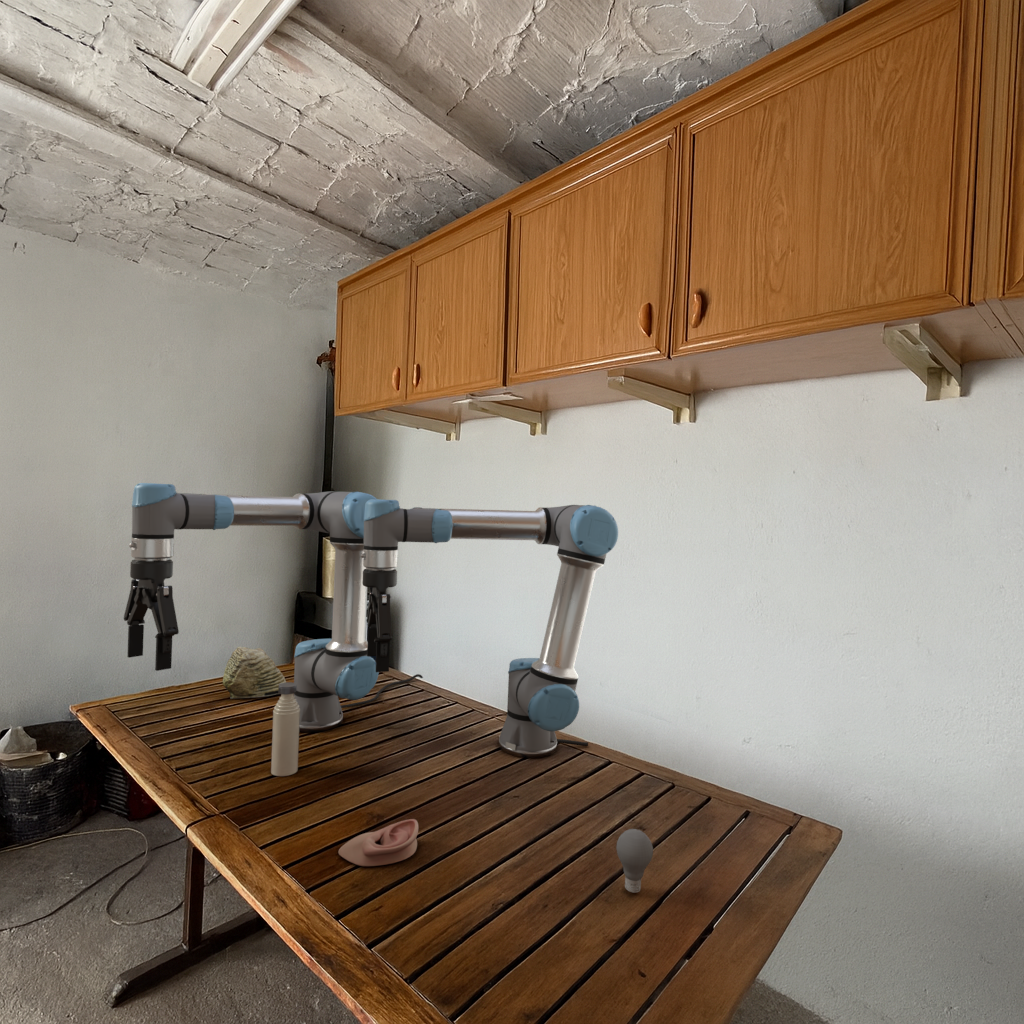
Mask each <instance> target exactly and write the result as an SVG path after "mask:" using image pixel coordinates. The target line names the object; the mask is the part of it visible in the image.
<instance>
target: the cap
mask: <svg viewBox="0 0 1024 1024" xmlns="http://www.w3.org/2000/svg"><path fill="white" fill-rule="evenodd" d="M296 690H297V686H296V683H294V681H293V682H291V681H286V682H285V683H281V684H279V688H278V692H279V693H280V694H279V695H281V694H293V695H294V693H295V692H296Z"/></svg>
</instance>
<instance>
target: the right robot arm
mask: <svg viewBox="0 0 1024 1024" xmlns="http://www.w3.org/2000/svg"><path fill="white" fill-rule="evenodd" d="M618 539H619V526H618V524H617V521H616V519H615V518H614V516H613V514H612V513H611V512H610V511H608V510H607V509H605V508H604V507H601V506H597V505H591V504H569V505H561V506H551V507H549V506H548V507H541V506H540V507H537V508H536V510H509V509H504V510H503V509H469V508H435V507H434V508H431V507H419V506H418V507H417V506H415V507H412V508H401V506H400V502H399V500H397V499H383V498H382V499H378V498H377V499H370V500H368V501H367V502H366V504H365V514H364V553H363V554H361V558H364V559H363V566H364V567H366V569H364V571H363V582H362V584H363V586H365V587H367V588H369V589H368V590H369V595H368V604H367V605H368V606H367V613H366V626H367V656H370V657H375V662H376V672H379V673H385V672H390V651H391V649H390V648H391V647H390V645H391V641H392V640H393V636H392V618H391V616H392V615H391V594H390V593H388V588H394V587H397V584H398V570H397V569H396V568H397V567H398V565H399V564H398V561H399V543H431V544H432V543H434V544H438V543H449V542H450V540H489V541H490V540H496V541H535V543H536V544H537V545H548V546H555V547H557V548H558V549H557V552H556V556H557V557H558V559H559V560H560V568H559V572H558V577H557V581H556V585H555V589H554V594H553V598H552V603H551V607H550V612H549V616H548V620H547V623H546V628H545V633H544V638H543V641H542V646H541V651H540V654H539V657H521V658H514V659H512V660H511V661H510V662H509V667H508V672H507V674H508V684H507V688H508V689H507V711H506V718H505V721H504V723H503V726H502V729H501V731H500V734H499V737H498V747H499V749H500V750H501V751H502V752H504V753H506V754H507V755H511V756H513V757H517V758H518V757H519V758H526V759H528V758H529V759H536V758H537V759H539V758H544V757H548V756H550V755H553V754H554V753H556V752H557V749H558V744H563V745H564V744H565V745H572V746H580V747H589V742H588V741H579V740H569V739H559V738H557V735H556V732H558V731H562V730H564V729H566V728H567V727H569V726H570V725H572V724H573V722H575V720H576V718H577V716H578V714H579V711H580V700H579V699H580V698H579V697H578V694H577V692H576V690H577V686H578V680H579V674H578V673H577V670H576V669H575V664H576V659H577V656H578V651H579V647H580V643H581V638H582V634H583V629H584V625H585V621H586V617H587V613H588V607H589V603H590V599H591V594H592V590H593V586H594V581H595V578H596V572H597V571H598V570H599V569H601V568H602V567H604V566H605V562H606V558H607V554H608V553H610V552H611V551H612V550H613V549H614V548H615V546H616V545H617V542H618Z"/></svg>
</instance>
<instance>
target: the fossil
mask: <svg viewBox="0 0 1024 1024" xmlns="http://www.w3.org/2000/svg"><path fill="white" fill-rule="evenodd" d="M222 676H223V677H222V685H223V687H224V688H225V690H226V691H228V693H229V698H230V699H250V698H264V697H271V696H275V695H281V694H280V693H279V692H278V688H279V684H281V683H285V682H287V680H286V678H285V676H284V674H283V673H282V672H281V669H279V668H278V667H277V665H276V663H275V662H274V660H273V659H272V658H271V657H270V656H269V655H268V654H267V653H266V652H265V650H264V649H263V648H260V647H258V648H251V647H247V646H246V647H245V646H238V647H237V648H236V649H235V650H233V651H232V653H231V656H230V657H229V659H228V660H227V663H226V666H225V668H224V671H223V675H222Z"/></svg>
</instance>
